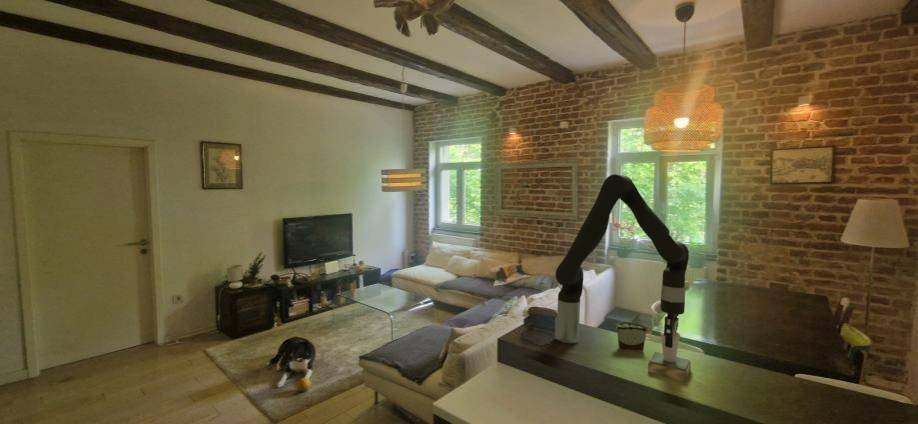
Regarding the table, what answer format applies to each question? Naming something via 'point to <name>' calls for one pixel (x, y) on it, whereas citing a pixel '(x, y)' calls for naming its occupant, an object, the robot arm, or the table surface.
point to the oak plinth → (670, 367)
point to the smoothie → (670, 353)
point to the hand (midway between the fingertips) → (670, 343)
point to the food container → (631, 336)
